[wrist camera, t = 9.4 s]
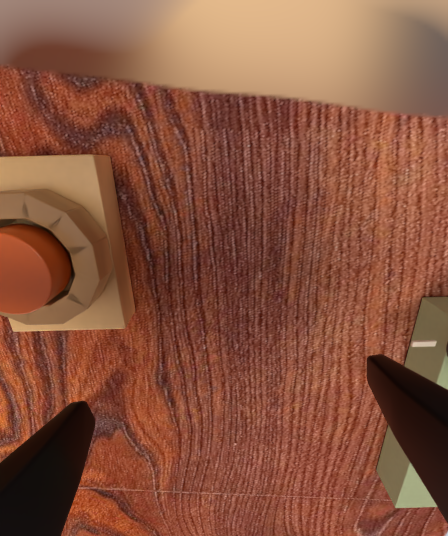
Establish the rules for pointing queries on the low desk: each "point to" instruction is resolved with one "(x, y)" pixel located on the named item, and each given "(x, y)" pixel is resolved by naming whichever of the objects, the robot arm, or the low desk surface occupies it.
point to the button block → (72, 237)
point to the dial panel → (435, 369)
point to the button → (30, 268)
